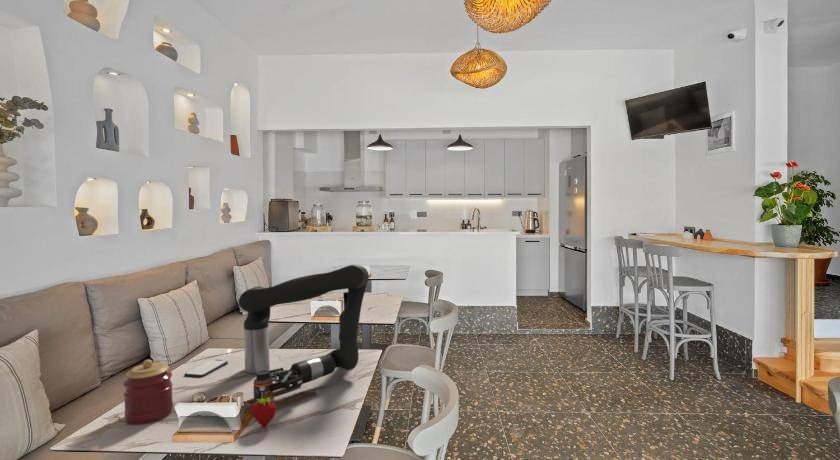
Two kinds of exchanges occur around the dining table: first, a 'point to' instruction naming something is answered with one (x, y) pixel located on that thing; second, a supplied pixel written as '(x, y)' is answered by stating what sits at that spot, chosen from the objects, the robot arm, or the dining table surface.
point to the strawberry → (264, 411)
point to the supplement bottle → (262, 385)
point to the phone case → (206, 368)
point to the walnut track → (248, 403)
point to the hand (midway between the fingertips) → (263, 384)
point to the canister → (148, 393)
